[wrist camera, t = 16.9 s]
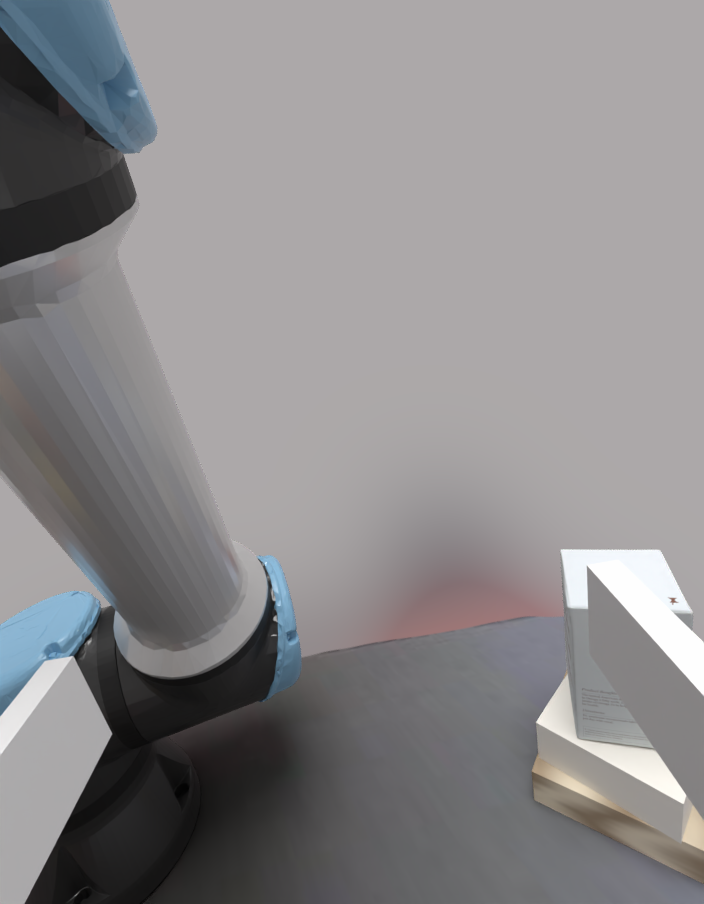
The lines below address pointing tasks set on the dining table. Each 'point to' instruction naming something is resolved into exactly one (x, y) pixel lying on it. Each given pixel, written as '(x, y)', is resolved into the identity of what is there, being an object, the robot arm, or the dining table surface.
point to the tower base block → (619, 820)
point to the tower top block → (613, 769)
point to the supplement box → (589, 688)
